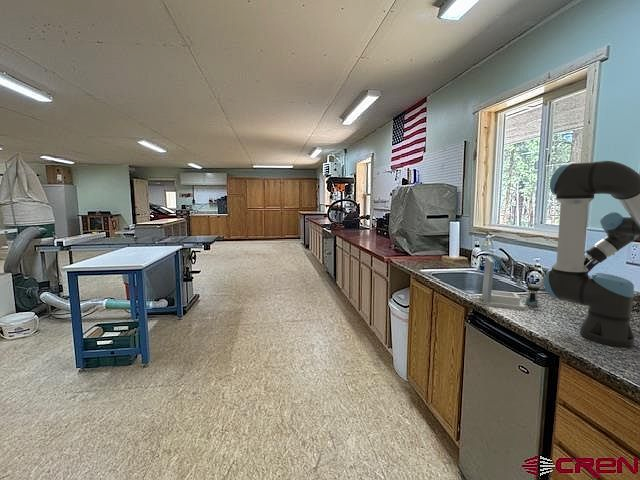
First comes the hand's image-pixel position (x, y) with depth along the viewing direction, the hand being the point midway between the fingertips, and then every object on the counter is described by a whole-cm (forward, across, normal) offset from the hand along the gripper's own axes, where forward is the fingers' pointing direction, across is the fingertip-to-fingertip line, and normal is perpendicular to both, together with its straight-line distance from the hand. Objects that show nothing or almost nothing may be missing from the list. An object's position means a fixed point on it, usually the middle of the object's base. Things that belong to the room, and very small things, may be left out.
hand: (558, 280), depth 157 cm
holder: (+26, -3, +7) cm, 27 cm away
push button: (+16, -1, -3) cm, 16 cm away
